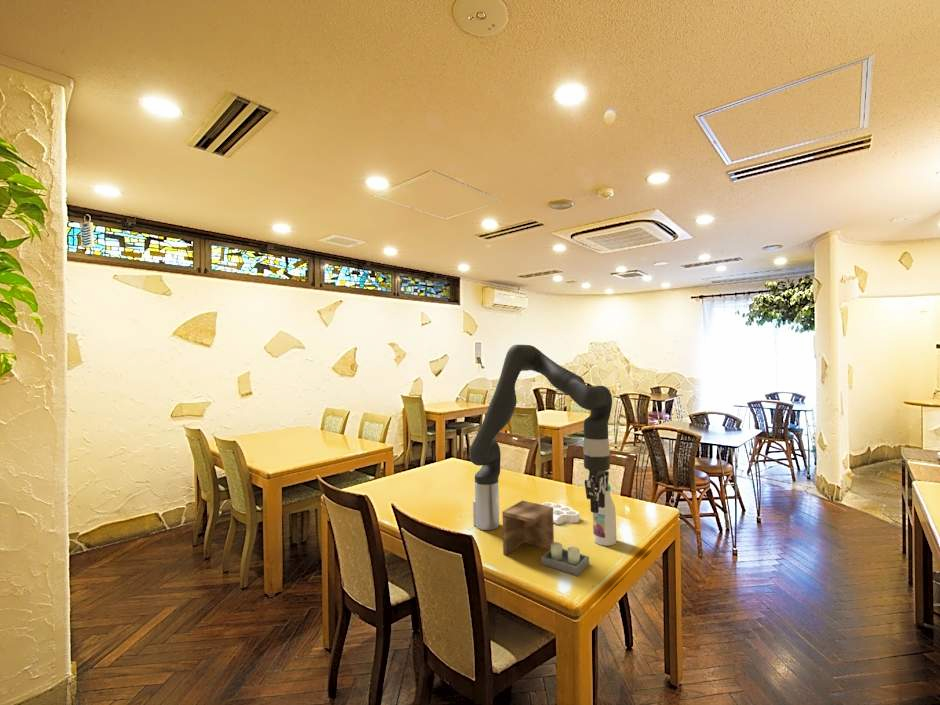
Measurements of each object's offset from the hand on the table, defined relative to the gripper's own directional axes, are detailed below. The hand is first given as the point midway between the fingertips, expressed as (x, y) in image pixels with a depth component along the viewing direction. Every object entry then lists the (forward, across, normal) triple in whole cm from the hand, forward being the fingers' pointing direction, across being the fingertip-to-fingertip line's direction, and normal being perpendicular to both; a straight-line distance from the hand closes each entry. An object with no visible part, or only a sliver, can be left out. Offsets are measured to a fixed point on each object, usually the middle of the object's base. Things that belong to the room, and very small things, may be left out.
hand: (597, 509), depth 125 cm
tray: (+20, 0, -11) cm, 23 cm away
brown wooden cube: (+19, -1, -24) cm, 31 cm away
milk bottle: (+20, -23, -6) cm, 31 cm away
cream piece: (+19, 0, -8) cm, 21 cm away
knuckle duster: (+20, -35, -30) cm, 51 cm away
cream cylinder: (+19, 0, -14) cm, 23 cm away
